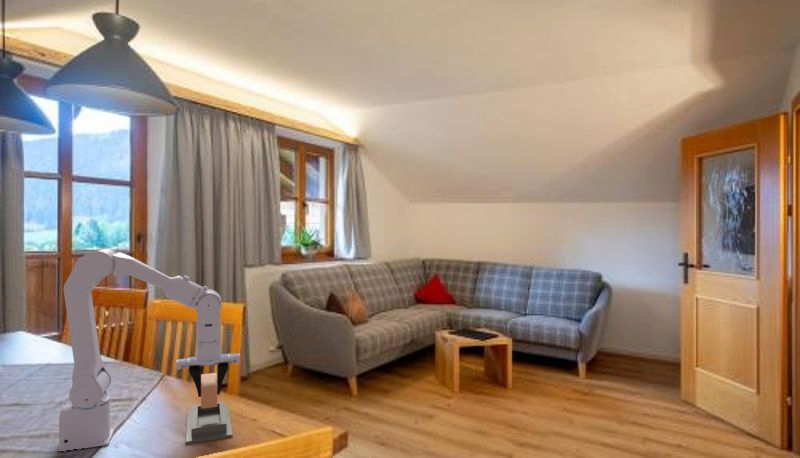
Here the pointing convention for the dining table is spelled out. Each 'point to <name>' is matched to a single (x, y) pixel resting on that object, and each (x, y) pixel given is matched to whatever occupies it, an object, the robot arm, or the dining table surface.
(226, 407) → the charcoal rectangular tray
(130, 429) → the dining table surface
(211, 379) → the terracotta bar
